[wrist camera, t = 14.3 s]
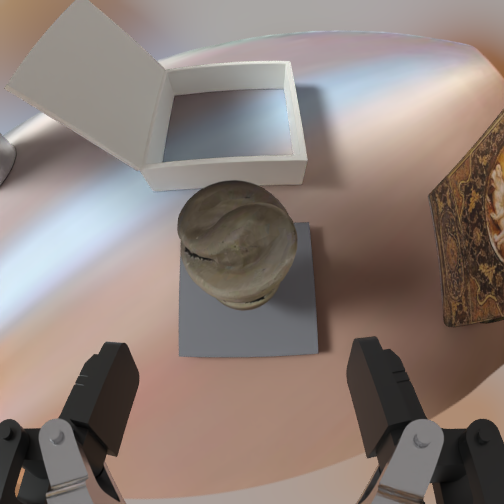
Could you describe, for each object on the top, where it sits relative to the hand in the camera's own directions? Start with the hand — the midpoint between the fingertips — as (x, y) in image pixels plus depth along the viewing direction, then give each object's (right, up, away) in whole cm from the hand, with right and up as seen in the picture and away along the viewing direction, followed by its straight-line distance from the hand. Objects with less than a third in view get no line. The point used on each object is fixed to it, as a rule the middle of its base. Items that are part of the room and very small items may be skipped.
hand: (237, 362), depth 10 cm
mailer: (-6, +18, +24) cm, 30 cm away
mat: (0, 0, +18) cm, 18 cm away
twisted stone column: (0, 0, +16) cm, 16 cm away
